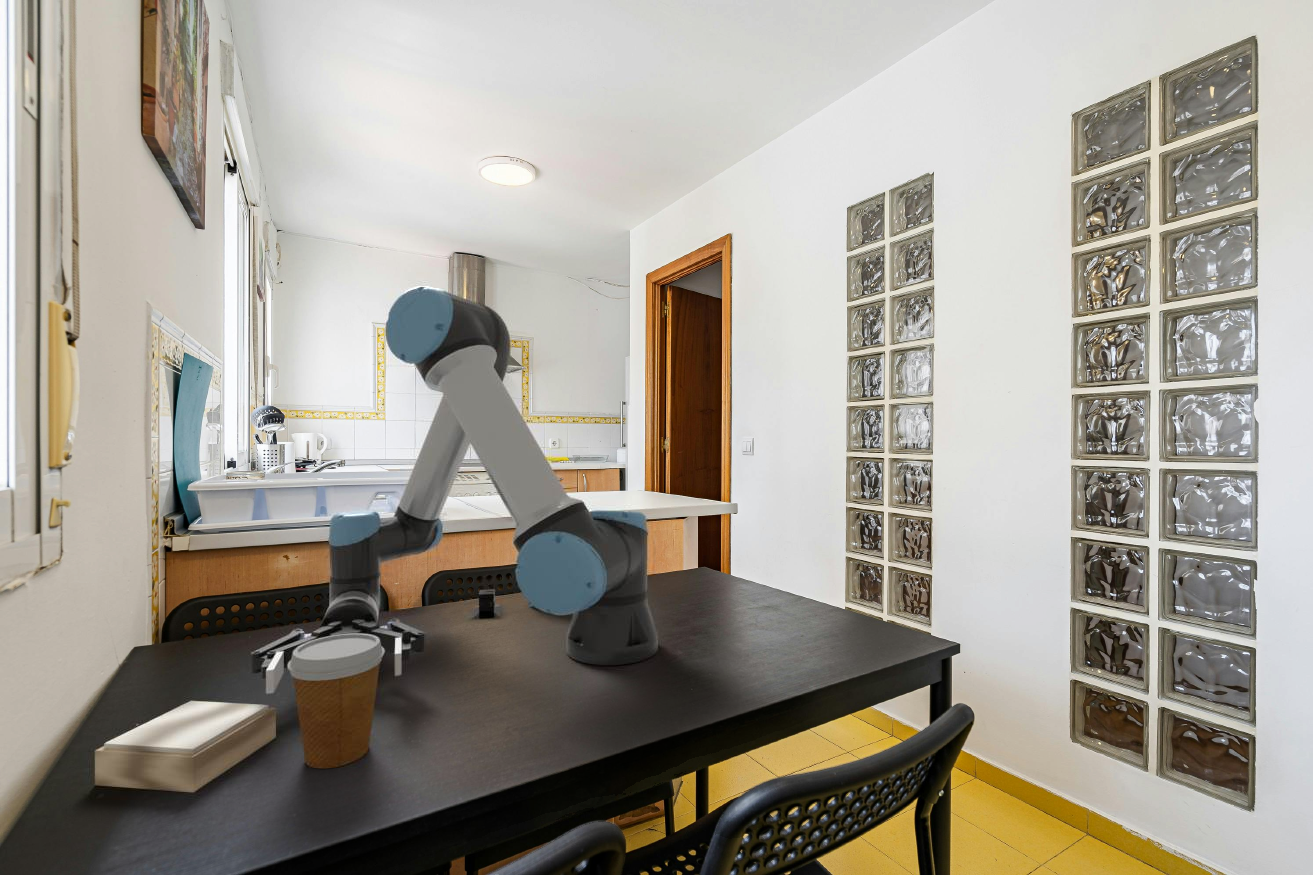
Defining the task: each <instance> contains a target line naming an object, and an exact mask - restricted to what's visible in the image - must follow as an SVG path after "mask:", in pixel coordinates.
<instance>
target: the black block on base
mask: <svg viewBox="0 0 1313 875" xmlns="http://www.w3.org/2000/svg"><path fill="white" fill-rule="evenodd" d="M495 592H496V589H495V588H493V589H480V590H479V593H478V605H475V606H474V607H475V609H474V608H473V610H474V611H473V610H472V613H473V612H474V613H473V614H471V617H472V616H473V617H472V618H471V617H470V620H471V619H474V620H487V619H500V618H502V609H501V608H502V606H503V605H502V604H496V598H495V597H496V594H495ZM501 605H502V606H501ZM500 612H501V613H500Z"/></svg>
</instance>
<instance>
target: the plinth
mask: <svg viewBox="0 0 1313 875" xmlns="http://www.w3.org/2000/svg"><path fill="white" fill-rule="evenodd" d="M276 716H277V707H271V706H269V704H259V703H258V704H254V703H252V704H251V703H236V702H235V703H234V702H218V701H204V700H203V701H198V700H189V701H188V702H186V703H184V704H181V705H179V706H178V707H175V708H174V709H171V710H170V711H168V712H165V713H163V714H162V715H160V716H157V717H155V718H153V719H151V720H149V721H148V722H145V723H143V724H141V725H139V726H137V727H134V728H132V729H131V730H129V731H127V732H124V733H123V734H121V735H119V736H116V737H114V738H112V739H110V740H108V741H106V742H105V743H103V746H101V747H99V748H97V749H95V750H94V786H101V787H116V788H127V789H128V788H130V789H142V790H143V789H144V790H157V791H166V792H167V791H168V792H169V791H171V792H182V793H183V792H184V793H195V792H196V791H198V790H200V789H201V788H203V786H205V785H206V784H209V783H210V782H211V781H213V780H214V779H216V778H218V777H219V776H220V775H222V774H223V773H225V772H226V771H229V769H231V768H232V767H234V766H235V765H237V764H239V763H241V761H243V760H244V759H246V758H247V757H249V756H251V755H252V754H254V753H255V752H256V751H258V750H260V749H261V748H263V747H264V746H265V745H268V744H269V743H270V742H272V741H273V740H274V739H277V731H276V730H277V729H276V728H277V726H276V724H277V723H276V722H277V717H276Z"/></svg>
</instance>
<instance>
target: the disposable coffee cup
mask: <svg viewBox="0 0 1313 875" xmlns="http://www.w3.org/2000/svg"><path fill="white" fill-rule="evenodd" d="M384 654H385V650H384V648H383V647H382V646H381V643H380V639H379V638H378V637H377V636H374V635H371V634H362V633H351V634H339V635H332V636H327V637H323V638H319V639H315V640H312V641H309V642H306V643H304V644H302V645H300V646H298V647H297V648H296V649H295V650H294V651H293V654H292V658H291V660H290V661H289V663H288V667H287V670H288V671H289V672H290V675H291V677H292V679H293V686H294V693H295V699H296V700H295V702H296V706H297V714H298V721H299V728H300V733H301V740H302V747H303V755H304V761H305V762H304V763H305V764H306V765H307V766H308V767H310V768H312V769H313V768H314V769H332V768H333V769H334V768H338V767H341V766H345V765H348V764H351V763H353V762H355V761H357V760H359V759H360V758H362V757H363V756H364V755H365V754H367V753H368V750H369V749H370V742H371V735H372V726H373V718H374V711H375V704H376V703H375V702H376V694H377V687H378V681H379V680H378V679H379V672H380V665H381V662H382V659H383V656H384Z"/></svg>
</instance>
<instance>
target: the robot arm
mask: <svg viewBox="0 0 1313 875" xmlns="http://www.w3.org/2000/svg"><path fill="white" fill-rule="evenodd" d="M385 339H386V340H385V341H386V343H387V346H388V348H389V350H390V352H391V353H392V354H393V356H395V357H396V358H397V359H399V360H400V361H401V362H404V363H406V364H411V365H412V364H413V365H414V366H415V367H416V369H417V370H418V372H419V375H420V376H421V378H422V379H423V381H424V384H425V385H426V387H427V388H428V389H430V390H432V391H435V392H438V393H442V397H441V399H440V402H439V404H438V407H437V410H436V411H435V413H434V417H433V420H431V424H430V426H429V429H428V432H427V434H426V437H425V439H424V442H422V443H423V444H422V446H421V449H420V452H419V454H418V456H417V459H416V460H415V463H414V466H413V467H412V471H411V473H410V476H409V479H408V480H407V483H406V486H405V488H404V490H403V493H402V494H401V495H402V496H401V499H400V500H399V503H398V505H397V507H396V510H395V512H394V515H393V516H391V517H386V518H380V516H381V515H380V514H379V512H377V511H374V510H352V511H350V510H349V511H342V512H337V513H336V514H334V515H333V516H332V517H331V519H330V524H329V535H328V536H329V537H328V543H329V544H328V545H329V606H328V607H327V610H326V612H325V614H324V616H323V619H322V620H321V623H320V626H319V628H317V629H316V630H314V631H312V632H311V633H306V632H305V631H303V629H302V628H295V629H292V630H291V632H290V633H289V634H287V635H285V636H283V637H281V638H279V639H277V640H274V641H272V642H271V643H268V644H266V645H265V646H263V647H260V648H258V649H256V650H255V651H252V652H251V657H250V659H251V663H250V664H251V666H250V667H251V669H250V670H251V674H259V673H261V679H265V694H266V695H267V694H268V695H269V694H274V693H275V692H276V689H277V687H278V685H279V683H280V681H281V679H282V677H283V675H284V674H285V669H288V663H289V661H290V660H291V658H292V654H293V651H294V650H295V649H296V648H297V647H298V646H300V645H302V644H304V643H306V642H309V641H312V640H315V639H319V638H323V637H327V636H332V635H339V634H351V633H362V634H371V635H374V636H377V637H378V638H379V639H380V643H381V646H382V647H383V648H384V650H385V652H386V653H390V654H394V677H397V676H402V661H409V660H411V659H412V652H413V651H414V653H423V652H424V651H425V647H426V644H425V642H426V639H425V637H426V636H425V631H422V630H420V629H417V628H415V627H412V626H410V625H408V624H406V623H403V622H401V621H400V619H399V618H392V619H390V620H389V621H388V622H386V625H380V624H379V623H378V622H379V621H378V620H379V612H380V609H381V606H382V605H381V604H382V593H381V591H380V590H381V563H386V562H389V561H393V560H396V559H401V558H404V557H409V556H414V555H419V554H422V553H426V551H430V550H432V549H435V547H437V546H438V545H439V544H440V543H441V541H442V539H443V535H444V532H443V528H444V525H443V522H442V520H441V518H440V516H441V513H442V511H443V509H444V506H445V504H446V502H447V499H448V496H449V494H450V492H451V489H452V488H453V485H454V482H455V480H456V479H457V476H458V473H459V470H460V469H461V466H462V463H463V461H464V459H465V456H466V455H467V452H468V450H469V447H470V445H471V447H472V449H473V450H474V451H475V454H476V456H477V457H478V459H479V461H480V463H481V465H482V466H483V468H484V470H485V472H486V474H487V475H488V477H489V479H490V480H491V482H492V484H493V486H494V488H495V490H496V492H497V494H498V495H499V497H500V498H501V501H502V503H503V504H504V506H505V508H506V510H507V512H508V513H509V516H510V517H511V519H512V521H513V522H514V524H515V530H514V534H513V538H512V539H511V540H512V543H513V546H514V547H515V549H516V551H517V554H518V555H517V558H516V561H515V562H516V564H517V565H516V568H515V571H514V572H515V578H516V582H517V585H518V587H519V589H520V591H521V594H523V596H524V598H526V599H527V601H528V602H530V603H531V604H532V605H534V606H535V607H537V608H538V610H540V611H542V612H544V613H547V614H550V615H554V616H568V615H572V618H571V620H570V623H569V627H568V630H567V634H566V638H565V652H566V655H568V657H570V658H571V659H573V660H575V661H577V662H581V663H584V664H590V665H596V666H597V665H598V666H619V665H627V664H632V663H633V664H634V663H638V662H641V661H644V660H646V659H649V658H651V657H652V656H654V655H655V654H656V653H657V652H658V650H659V645H658V644H659V643H658V642H659V639H658V637H659V636H658V631H657V629H656V625H655V623H654V620H653V619H654V618H653V616H652V612H651V609H650V607H649V604H648V535H649V531H648V525H647V524H648V523H647V518H646V515H645V514H644V513H642V512H641V511H627V510H622V511H621V510H603V509H602V510H600V509H588V508H587V506H586V504H585V502H584V501H583V500H582V499H578V498H574V497H571V496H569V495H568V494H567V492H566V491H565V489H564V487H563V485H562V483H561V482H560V480H559V478H558V476H557V475H556V473H555V471H554V469H553V468H552V465H551V464H550V462H549V461H548V459H547V457H546V456H545V454H544V452H543V450H542V449H541V447H540V445H539V443H538V442H537V440H536V438H535V437H534V435H533V433H532V431H531V430H530V428H529V426H528V424H527V422H526V421H525V419H524V418H523V416H522V414H521V412H520V410H519V409H518V407H517V405H516V403H515V402H514V400H513V398H512V396H511V394H510V393H509V391H508V390H507V387H506V386H505V384H504V383H503V381H504V378H505V376H506V373H507V370H508V367H509V363H510V357H511V338H510V331H509V330H508V327H507V324H506V323H505V321H504V319H503V317H502V316H500V315H499V313H498V312H496V311H495V310H494V309H492V307H490V306H488V305H486V304H482V303H480V302H475V301H473V300H470V299H467V298H464V297H462V296H459V295H456V294H454V293H450V292H448V291H446V290H444V289H443V288H437V287H435V288H434V287H431V286H424V285H423V286H421V285H420V286H415V287H413V288H410V289H408V290H406V291H404V292H403V293H402V294H401V295H399V296H398V298H397V299H396V300H395V301H394V303H393V304H392V306H391V307H390V309H389V312H388V319H387V321H386V322H385ZM537 608H536V609H537ZM385 652H384V653H385Z"/></svg>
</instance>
